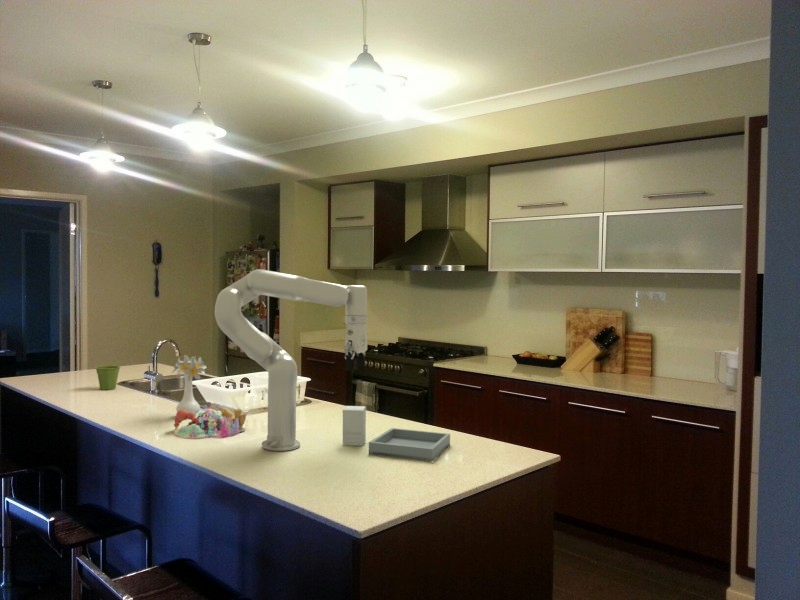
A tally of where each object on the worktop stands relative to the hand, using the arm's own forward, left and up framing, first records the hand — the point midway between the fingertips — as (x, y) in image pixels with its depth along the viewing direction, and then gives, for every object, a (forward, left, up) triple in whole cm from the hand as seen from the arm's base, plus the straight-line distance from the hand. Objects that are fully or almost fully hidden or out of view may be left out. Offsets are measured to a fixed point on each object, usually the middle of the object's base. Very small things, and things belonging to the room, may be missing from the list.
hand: (355, 368), depth 221 cm
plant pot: (+48, +157, -26) cm, 166 cm away
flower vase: (+12, +79, -26) cm, 84 cm away
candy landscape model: (-6, +56, -27) cm, 62 cm away
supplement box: (0, 0, -27) cm, 27 cm away
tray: (0, -21, -26) cm, 34 cm away
